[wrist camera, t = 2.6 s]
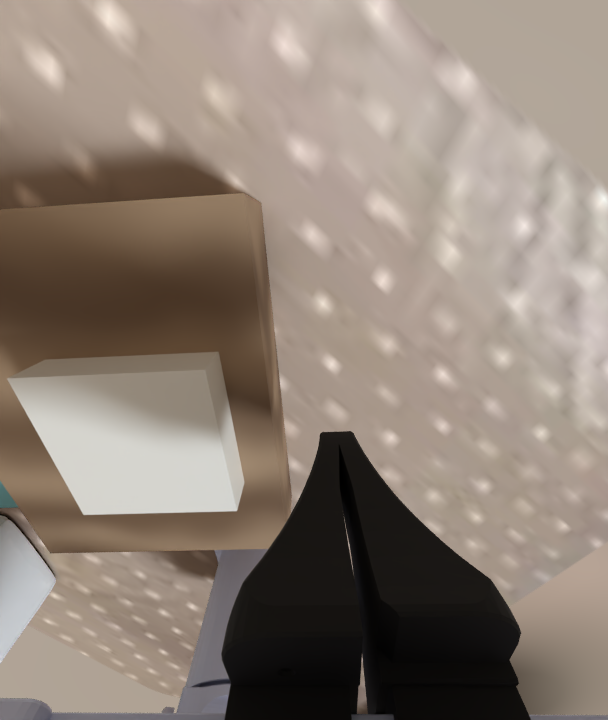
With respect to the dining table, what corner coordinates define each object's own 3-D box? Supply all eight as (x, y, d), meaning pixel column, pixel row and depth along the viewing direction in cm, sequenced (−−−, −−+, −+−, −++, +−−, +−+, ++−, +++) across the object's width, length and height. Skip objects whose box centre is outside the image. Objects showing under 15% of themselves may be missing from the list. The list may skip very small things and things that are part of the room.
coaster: (244, 482, 16) (237, 511, 14) (106, 486, 16) (83, 514, 15) (218, 351, 13) (204, 369, 11) (45, 359, 13) (6, 378, 11)
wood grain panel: (291, 495, 22) (288, 548, 18) (92, 501, 23) (50, 553, 19) (260, 202, 14) (243, 192, 10) (-55, 223, 14) (-180, 221, 11)
